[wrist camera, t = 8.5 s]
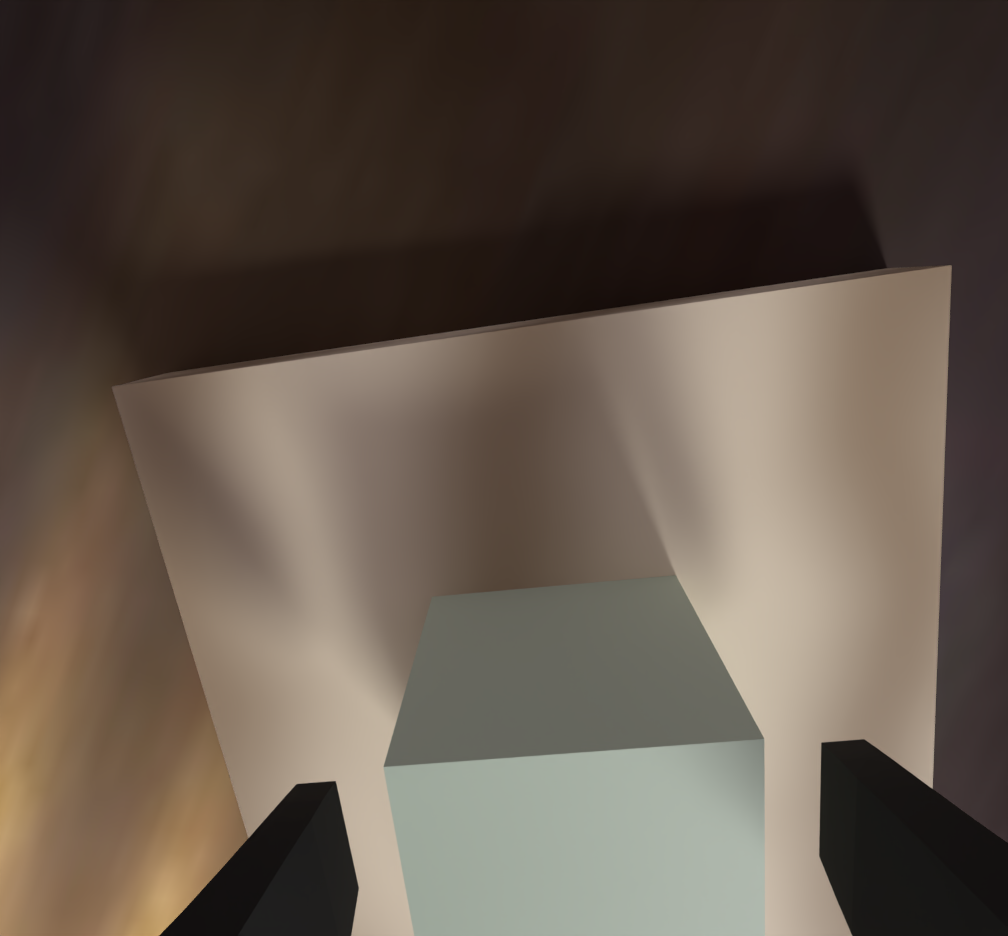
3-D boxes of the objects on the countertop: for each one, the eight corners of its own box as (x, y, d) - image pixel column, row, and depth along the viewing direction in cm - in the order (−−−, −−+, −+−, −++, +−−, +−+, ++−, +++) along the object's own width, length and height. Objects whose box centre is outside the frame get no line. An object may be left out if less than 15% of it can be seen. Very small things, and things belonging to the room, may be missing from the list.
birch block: (870, 269, 13) (951, 265, 10) (867, 843, 17) (926, 938, 14) (183, 368, 14) (111, 386, 11) (326, 895, 17) (295, 993, 15)
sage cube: (675, 575, 12) (764, 738, 8) (684, 780, 13) (765, 1024, 9) (431, 596, 12) (383, 766, 8) (461, 796, 13) (433, 1041, 9)
